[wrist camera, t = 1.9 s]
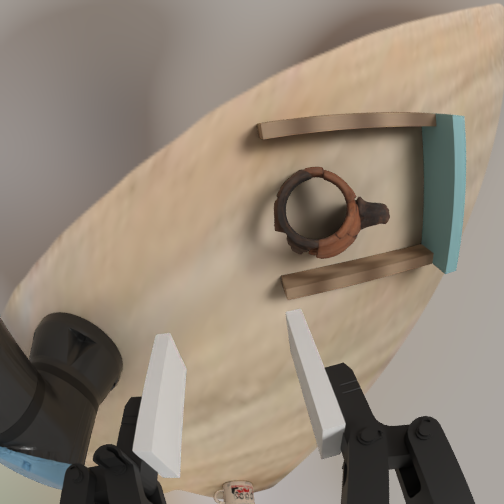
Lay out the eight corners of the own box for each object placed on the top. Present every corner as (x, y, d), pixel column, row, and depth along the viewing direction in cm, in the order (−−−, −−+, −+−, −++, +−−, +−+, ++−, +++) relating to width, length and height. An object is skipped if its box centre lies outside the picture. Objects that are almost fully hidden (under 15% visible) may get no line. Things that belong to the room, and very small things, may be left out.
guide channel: (282, 286, 35) (287, 300, 32) (256, 123, 27) (260, 123, 24) (420, 253, 35) (432, 263, 33) (420, 112, 27) (435, 113, 25)
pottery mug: (287, 262, 34) (275, 266, 26) (275, 184, 35) (260, 166, 27) (386, 247, 31) (404, 248, 23) (372, 169, 32) (385, 147, 24)
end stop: (420, 253, 35) (445, 274, 30) (420, 112, 27) (452, 115, 22) (430, 250, 35) (455, 270, 30) (431, 113, 27) (464, 116, 22)
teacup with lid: (258, 481, 63) (262, 514, 53) (245, 489, 66) (248, 520, 56) (218, 477, 60) (220, 513, 50) (208, 486, 63) (209, 518, 53)
